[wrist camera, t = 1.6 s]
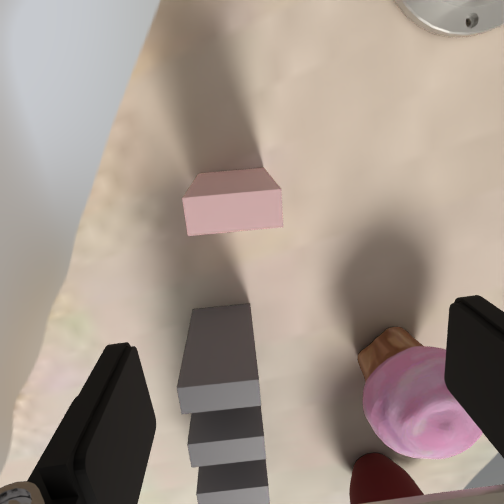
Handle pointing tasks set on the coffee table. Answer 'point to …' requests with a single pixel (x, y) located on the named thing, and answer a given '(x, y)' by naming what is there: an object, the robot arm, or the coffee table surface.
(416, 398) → the cupcake
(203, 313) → the domino
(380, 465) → the mug
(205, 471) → the domino
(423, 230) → the coffee table surface
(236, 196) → the rose domino
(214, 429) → the domino
